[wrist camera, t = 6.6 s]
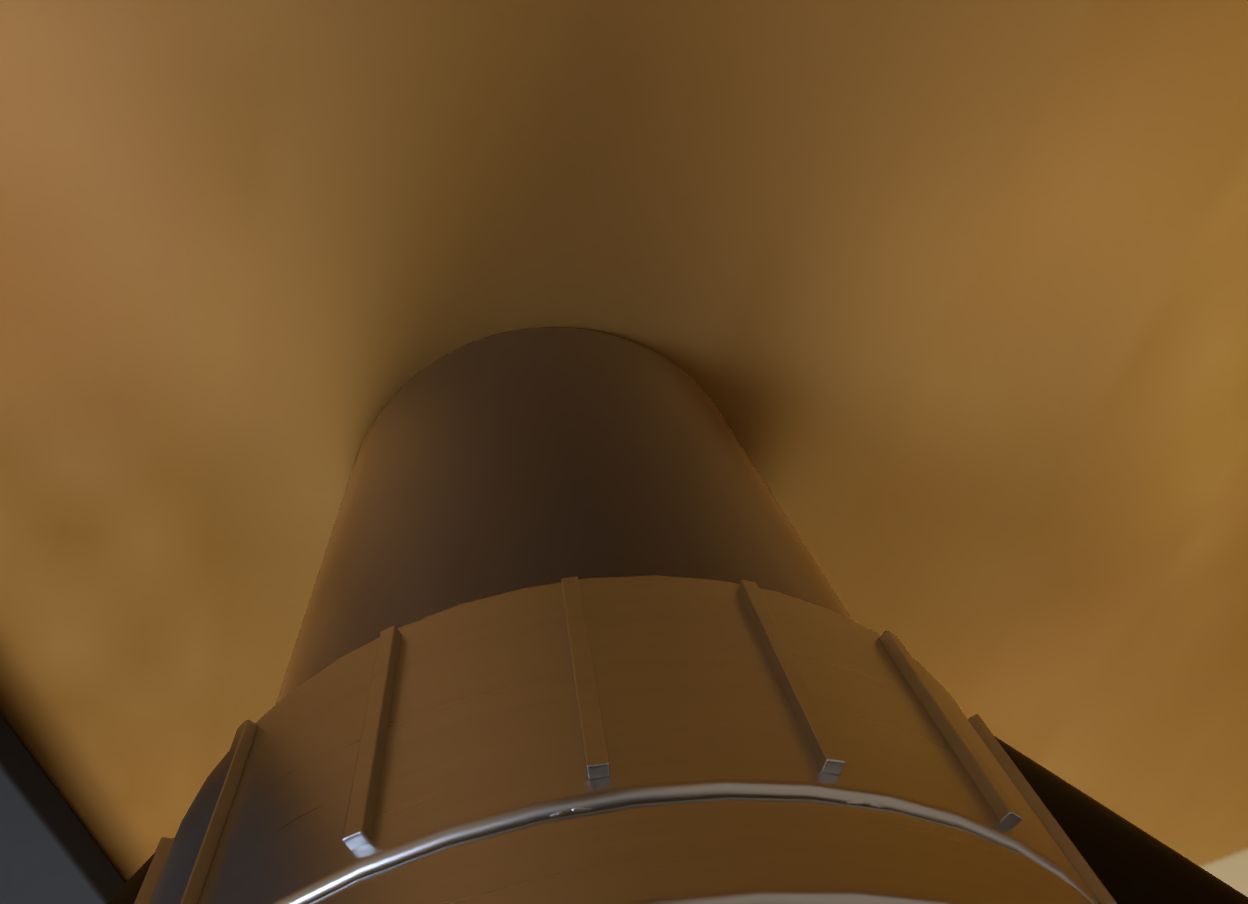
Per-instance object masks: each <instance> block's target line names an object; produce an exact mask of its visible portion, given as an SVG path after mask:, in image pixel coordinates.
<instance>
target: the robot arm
mask: <svg viewBox="0 0 1248 904" xmlns="http://www.w3.org/2000/svg"><path fill="white" fill-rule="evenodd" d="M994 737H995V736H994ZM995 738H996V740H997V741H998V742H999V744H1000V745H1001V746H1002V748H1003V749H1004V750H1005V752H1006V753H1007V755H1008V756H1009V757H1010V759H1011V760H1012V761H1013V763H1014V764H1015V765H1016V767H1017V768H1018V769H1019V771H1020V772H1021V774H1022V775H1023V776H1024V778H1025V779H1026V780H1027V782H1028V783H1029V784H1030V786H1031V787H1032V788H1033V790H1034V791H1035V793H1036V794H1037V795H1038V797H1039V798H1040V799H1041V801H1042V802H1043V803H1044V805H1045V806H1046V808H1047V809H1048V810H1049V812H1050V813H1051V814H1052V816H1053V817H1054V818H1055V820H1056V821H1057V822H1058V824H1059V825H1060V827H1061V828H1062V829H1063V831H1064V832H1065V833H1066V835H1067V836H1068V837H1069V839H1070V840H1071V841H1072V843H1073V844H1074V846H1075V847H1076V848H1077V850H1078V851H1079V852H1080V854H1081V855H1082V856H1083V858H1084V859H1085V861H1086V862H1087V863H1088V865H1089V866H1090V867H1091V869H1092V870H1093V871H1094V873H1095V874H1096V875H1097V877H1098V878H1099V880H1100V881H1101V882H1102V884H1103V885H1104V886H1105V888H1106V889H1107V890H1108V892H1109V893H1110V894H1111V896H1112V897H1113V899H1114V900H1115V901H1116V903H1117V904H1248V897H1246V896H1245V895H1243V894H1242V893H1240V892H1238V891H1237V890H1235V889H1233V888H1232V887H1230V886H1229V885H1227V884H1226V883H1224V882H1223V881H1221V880H1220V879H1218V878H1216V877H1215V876H1213V875H1212V874H1210V873H1209V872H1207V871H1205V870H1204V869H1202V868H1201V867H1199V866H1198V865H1196V864H1194V863H1193V862H1191V861H1190V860H1188V859H1187V858H1185V857H1183V856H1182V855H1180V854H1179V853H1177V852H1176V851H1174V850H1172V849H1171V848H1169V847H1168V846H1166V845H1165V844H1163V843H1161V842H1160V841H1158V840H1157V839H1155V838H1154V837H1152V836H1150V835H1149V834H1147V833H1146V832H1144V831H1143V830H1141V829H1140V828H1138V827H1136V826H1135V825H1133V824H1132V823H1130V822H1129V821H1127V820H1125V819H1124V818H1122V817H1121V816H1119V815H1118V814H1116V813H1114V812H1113V811H1111V810H1110V809H1108V808H1107V807H1105V806H1103V805H1102V804H1100V803H1099V802H1097V801H1096V800H1094V799H1092V798H1091V797H1089V796H1088V795H1086V794H1085V793H1083V792H1081V791H1080V790H1078V789H1077V788H1075V787H1074V786H1072V785H1070V784H1069V783H1067V782H1066V781H1064V780H1063V779H1061V778H1059V777H1058V776H1056V775H1055V774H1053V773H1052V772H1050V771H1048V770H1047V769H1045V768H1044V767H1042V766H1041V765H1039V764H1037V763H1036V762H1034V761H1033V760H1031V759H1030V758H1028V757H1026V756H1025V755H1023V754H1022V753H1020V752H1019V751H1017V750H1015V749H1014V748H1012V747H1011V746H1009V745H1008V744H1006V743H1004V742H1003V741H1001V740H1000V739H998V738H997V737H995ZM172 839H175V838H172ZM154 854H155V853H154ZM154 854H153V855H152V856H151V857H150V858H149V859H148V860H147V861H146V862H145V864H144V865H143V866H142V867H141V868H140V869H139V870H138V871H137V872H136V873H135V874H134V875H133V876H132V877H131V878H130V879H129V880H128V881H127V882H126V884H125V885H124V886H123V887H122V888H121V889H120V890H119V891H118V892H117V893H116V894H115V895H114V896H113V897H112V898H111V899H110V900H109V901H108V903H107V904H134V902H135V900H136V898H137V895H138V893H139V890H140V888H141V886H142V883H143V881H144V878H145V876H146V874H147V871H148V869H149V866H150V864H151V862H152V859H153V857H154Z"/></svg>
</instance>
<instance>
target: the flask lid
mask: <svg viewBox="0 0 1248 904" xmlns="http://www.w3.org/2000/svg"><path fill="white" fill-rule="evenodd" d="M134 904H1117V903H1116V901H1115V900H1114V899H1113V897H1112V896H1111V894H1110V893H1109V892H1108V890H1107V889H1106V888H1105V886H1104V885H1103V884H1102V882H1101V881H1100V880H1099V878H1098V877H1097V875H1096V874H1095V873H1094V871H1093V870H1092V869H1091V867H1090V866H1089V865H1088V863H1087V862H1086V861H1085V859H1084V858H1083V856H1082V855H1081V854H1080V852H1079V851H1078V850H1077V848H1076V847H1075V846H1074V844H1073V843H1072V841H1071V840H1070V839H1069V837H1068V836H1067V835H1066V833H1065V832H1064V831H1063V829H1062V828H1061V827H1060V825H1059V824H1058V822H1057V821H1056V820H1055V818H1054V817H1053V816H1052V814H1051V813H1050V812H1049V810H1048V809H1047V808H1046V806H1045V805H1044V803H1043V802H1042V801H1041V799H1040V798H1039V797H1038V795H1037V794H1036V793H1035V791H1034V790H1033V788H1032V787H1031V786H1030V784H1029V783H1028V782H1027V780H1026V779H1025V778H1024V776H1023V775H1022V774H1021V772H1020V771H1019V769H1018V768H1017V767H1016V765H1015V764H1014V763H1013V761H1012V760H1011V759H1010V757H1009V756H1008V755H1007V753H1006V752H1005V750H1004V749H1003V748H1002V746H1001V745H1000V744H999V742H998V741H997V740H996V738H995V737H994V735H993V734H992V733H991V731H990V730H989V729H988V727H987V726H986V725H985V723H984V722H983V721H982V719H981V718H980V716H979V715H978V714H976V715H974V716H972V717H970V718H969V719H967V717H966V716H965V715H964V713H963V712H962V710H961V709H960V708H959V706H958V705H957V703H956V702H955V701H954V699H953V698H952V696H951V695H950V694H949V693H948V692H947V691H946V690H945V689H944V688H943V687H942V686H941V685H940V684H939V683H938V682H937V681H936V680H935V679H934V678H933V677H932V676H931V675H930V674H929V673H928V672H927V671H926V669H925V668H924V667H923V666H922V665H921V664H920V663H918V662H917V661H916V660H914V659H913V658H912V657H911V656H910V655H909V654H908V652H907V651H906V649H905V648H904V646H903V645H902V643H901V642H900V641H899V639H898V638H897V636H895V635H894V634H892V633H890V632H889V631H885V632H884V633H883V634H882V635H879V634H877V633H875V632H873V631H871V630H869V629H867V628H866V627H864V626H862V625H860V624H858V623H856V622H854V621H852V620H850V619H848V618H846V617H844V616H842V615H840V614H838V613H836V612H834V611H832V610H830V609H827V608H824V607H821V606H818V605H815V604H812V603H809V602H806V601H803V600H800V599H797V598H794V597H791V596H789V595H786V594H783V593H780V592H777V591H772V590H767V589H762V588H758V586H757V584H756V582H752V581H746V580H741V583H740V584H737V583H732V582H727V581H722V580H715V579H703V578H690V577H677V576H665V575H638V576H609V577H589V578H582V579H578V577H577V576H575V577H567V578H562V579H561V582H555V583H548V584H541V585H534V586H527V587H523V588H519V589H515V590H511V591H507V592H503V593H500V594H496V595H492V596H488V597H484V598H480V599H477V600H473V601H469V602H465V603H461V604H458V605H456V606H453V607H450V608H448V609H445V610H443V611H440V612H437V613H435V614H432V615H430V616H427V617H424V618H422V619H419V620H417V621H414V622H411V623H409V624H406V625H403V626H401V627H398V628H397V627H396V626H395V625H394V626H392V627H389V628H387V629H385V630H383V631H381V632H380V637H379V638H377V639H375V640H373V641H371V642H369V643H368V644H366V645H364V646H362V647H360V648H358V649H356V650H354V651H352V652H350V653H348V654H347V655H345V656H343V657H341V658H339V659H338V660H336V661H335V662H333V663H332V664H331V665H329V666H328V667H326V668H325V669H323V670H322V671H320V672H319V673H318V674H316V675H315V676H313V677H312V678H310V679H309V680H307V681H306V682H304V683H303V684H302V685H300V686H299V687H297V688H296V689H294V690H293V691H291V692H290V693H289V694H288V695H286V696H285V697H284V698H283V699H282V700H281V701H280V702H278V703H277V704H276V705H275V706H274V707H273V708H272V709H271V710H270V711H269V712H267V713H266V714H265V715H264V716H263V717H262V718H261V719H260V720H259V721H258V722H256V723H253V722H252V721H250V720H246V721H245V722H244V723H243V724H242V725H241V726H240V727H239V728H238V729H237V732H236V735H235V737H234V740H233V743H232V746H231V748H230V751H229V752H228V753H227V754H226V756H225V757H224V758H223V759H222V760H221V762H220V763H219V764H218V765H217V766H216V768H215V769H214V770H213V771H212V773H211V774H210V775H209V776H208V777H207V779H206V781H205V782H204V784H203V786H202V787H201V789H200V791H199V793H198V794H197V796H196V798H195V799H194V801H193V803H192V805H191V806H190V808H189V810H188V812H187V813H186V815H185V817H184V818H183V820H182V822H181V824H180V827H179V829H178V832H177V834H176V837H175V839H170V838H165V837H162V838H161V840H160V842H159V845H158V847H157V850H156V852H155V854H154V857H153V859H152V862H151V864H150V866H149V869H148V871H147V874H146V876H145V878H144V881H143V883H142V886H141V888H140V890H139V893H138V895H137V898H136V900H135V902H134Z"/></svg>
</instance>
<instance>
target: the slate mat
mask: <svg viewBox="0 0 1248 904" xmlns="http://www.w3.org/2000/svg"><path fill="white" fill-rule="evenodd" d="M125 884H126V883H125V882H124V881H123V879H122V878H121V877H120V875H119V874H118V873H117V871H116V870H115V869H114V867H113V866H112V864H111V863H110V862H109V860H108V859H107V858H106V856H105V855H104V854H103V852H102V851H101V850H100V848H99V847H98V846H97V844H96V843H95V842H94V840H93V839H92V837H91V836H90V835H89V833H88V832H87V831H86V829H85V828H84V827H83V825H82V824H81V823H80V821H79V820H78V819H77V817H76V816H75V815H74V813H73V812H72V810H71V809H70V808H69V806H68V805H67V804H66V802H65V801H64V800H63V798H62V797H61V796H60V794H59V793H58V792H57V790H56V789H55V788H54V786H53V785H52V783H51V782H50V781H49V779H48V778H47V777H46V775H45V774H44V773H43V771H42V770H41V769H40V767H39V766H38V765H37V763H36V762H35V761H34V759H33V758H32V757H31V755H30V754H29V752H28V751H27V750H26V748H25V747H24V746H23V744H22V743H21V742H20V740H19V739H18V738H17V736H16V735H15V734H14V732H13V731H12V730H11V728H10V727H9V725H8V724H7V723H6V721H5V720H4V719H3V717H2V716H1V715H0V904H107V903H108V901H109V900H110V899H111V898H112V897H113V896H114V895H115V894H116V893H117V892H118V891H119V890H120V889H121V888H122V887H123V886H124V885H125Z"/></svg>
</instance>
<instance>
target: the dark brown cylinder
mask: <svg viewBox="0 0 1248 904" xmlns="http://www.w3.org/2000/svg"><path fill="white" fill-rule="evenodd" d="M638 575H665V576H677V577H690V578H703V579H715V580H722V581H727V582H732V583H737V584H740V583H741V580H746V581H752V582H756V584H757V586H758V588H762V589H767V590H772V591H777V592H780V593H783V594H786V595H789V596H791V597H794V598H797V599H800V600H803V601H806V602H809V603H812V604H815V605H818V606H821V607H824V608H827V609H830V610H832V611H834V612H836V613H838V614H840V615H842V616H844V617H846V618H848V619H850V620H852V619H851V617H850V615H849V614H848V612H847V611H846V609H845V608H844V606H843V604H842V603H841V601H840V600H839V598H838V597H837V595H836V593H835V592H834V590H833V589H832V587H831V586H830V584H829V583H828V581H827V579H826V578H825V576H824V575H823V573H822V572H821V570H820V568H819V567H818V565H817V564H816V562H815V561H814V559H813V557H812V556H811V554H810V553H809V551H808V550H807V548H806V546H805V545H804V543H803V542H802V540H801V539H800V537H799V535H798V534H797V532H796V531H795V529H794V528H793V526H792V525H791V523H790V521H789V520H788V518H787V517H786V515H785V514H784V512H783V510H782V509H781V507H780V506H779V504H778V503H777V501H776V499H775V498H774V496H773V495H772V493H771V492H770V490H769V488H768V487H767V485H766V484H765V482H764V481H763V479H762V478H761V476H760V474H759V473H758V471H757V470H756V468H755V467H754V465H753V463H752V462H751V460H750V459H749V457H748V456H747V454H746V452H745V451H744V449H743V448H742V446H741V445H740V443H739V441H738V440H737V438H736V437H735V435H734V434H733V432H732V431H731V429H730V427H729V426H728V424H727V423H726V421H725V420H724V418H723V416H722V415H721V413H720V412H719V410H718V409H717V407H716V405H715V404H714V402H713V401H712V400H711V399H710V398H709V396H708V395H707V394H706V393H705V392H704V391H703V389H702V388H701V387H700V386H699V385H698V384H697V383H696V382H695V381H694V380H693V379H692V378H691V377H689V376H688V375H687V374H686V373H685V372H684V371H683V370H681V369H680V368H679V367H678V366H676V365H675V364H673V363H672V362H670V361H669V360H667V359H666V358H664V357H662V356H661V355H659V354H658V353H656V352H654V351H652V350H650V349H648V348H646V347H643V346H641V345H639V344H637V343H635V342H633V341H630V340H627V339H624V338H620V337H617V336H614V335H611V334H608V333H603V332H598V331H592V330H587V329H581V328H566V327H541V328H528V329H520V330H515V331H510V332H505V333H500V334H495V335H492V336H489V337H486V338H483V339H480V340H477V341H475V342H472V343H469V344H466V345H464V346H462V347H460V348H458V349H456V350H454V351H452V352H450V353H448V354H446V355H444V356H442V357H440V358H439V359H437V360H436V361H434V362H433V363H432V364H430V365H429V366H427V367H426V368H424V369H423V370H421V371H420V372H418V373H417V374H416V375H415V376H414V377H413V378H411V379H410V380H409V381H408V382H407V383H406V384H405V385H404V386H402V387H401V388H400V389H399V390H398V391H397V392H396V393H395V395H394V396H393V397H392V398H391V399H390V401H389V402H388V403H387V404H386V405H385V406H384V408H383V409H382V410H381V411H380V413H379V414H378V416H377V418H376V419H375V421H374V422H373V424H372V426H371V427H370V429H369V430H368V432H367V434H366V436H365V439H364V441H363V443H362V445H361V448H360V450H359V452H358V454H357V457H356V460H355V463H354V466H353V469H352V472H351V475H350V479H349V482H348V485H347V488H346V491H345V494H344V497H343V500H342V503H341V506H340V509H339V512H338V515H337V518H336V521H335V524H334V527H333V531H332V534H331V537H330V540H329V543H328V546H327V549H326V552H325V555H324V558H323V561H322V564H321V567H320V570H319V573H318V576H317V579H316V583H315V586H314V589H313V592H312V595H311V598H310V601H309V604H308V607H307V610H306V613H305V616H304V619H303V622H302V625H301V628H300V631H299V635H298V638H297V641H296V644H295V647H294V650H293V653H292V656H291V659H290V662H289V665H288V668H287V671H286V674H285V677H284V680H283V683H282V687H281V690H280V693H279V696H278V699H277V702H276V704H277V703H278V702H280V701H281V700H282V699H283V698H284V697H285V696H286V695H288V694H289V693H290V692H291V691H293V690H294V689H296V688H297V687H299V686H300V685H302V684H303V683H304V682H306V681H307V680H309V679H310V678H312V677H313V676H315V675H316V674H318V673H319V672H320V671H322V670H323V669H325V668H326V667H328V666H329V665H331V664H332V663H333V662H335V661H336V660H338V659H339V658H341V657H343V656H345V655H347V654H348V653H350V652H352V651H354V650H356V649H358V648H360V647H362V646H364V645H366V644H368V643H369V642H371V641H373V640H375V639H377V638H379V637H380V632H381V631H383V630H385V629H387V628H389V627H392V626H394V625H395V626H396V627H397V628H398V627H401V626H403V625H406V624H409V623H411V622H414V621H417V620H419V619H422V618H424V617H427V616H430V615H432V614H435V613H437V612H440V611H443V610H445V609H448V608H450V607H453V606H456V605H458V604H461V603H465V602H469V601H473V600H477V599H480V598H484V597H488V596H492V595H496V594H500V593H503V592H507V591H511V590H515V589H519V588H523V587H527V586H534V585H541V584H548V583H555V582H561V579H562V578H567V577H575V576H577V577H578V579H582V578H589V577H609V576H638ZM852 621H853V620H852Z"/></svg>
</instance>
